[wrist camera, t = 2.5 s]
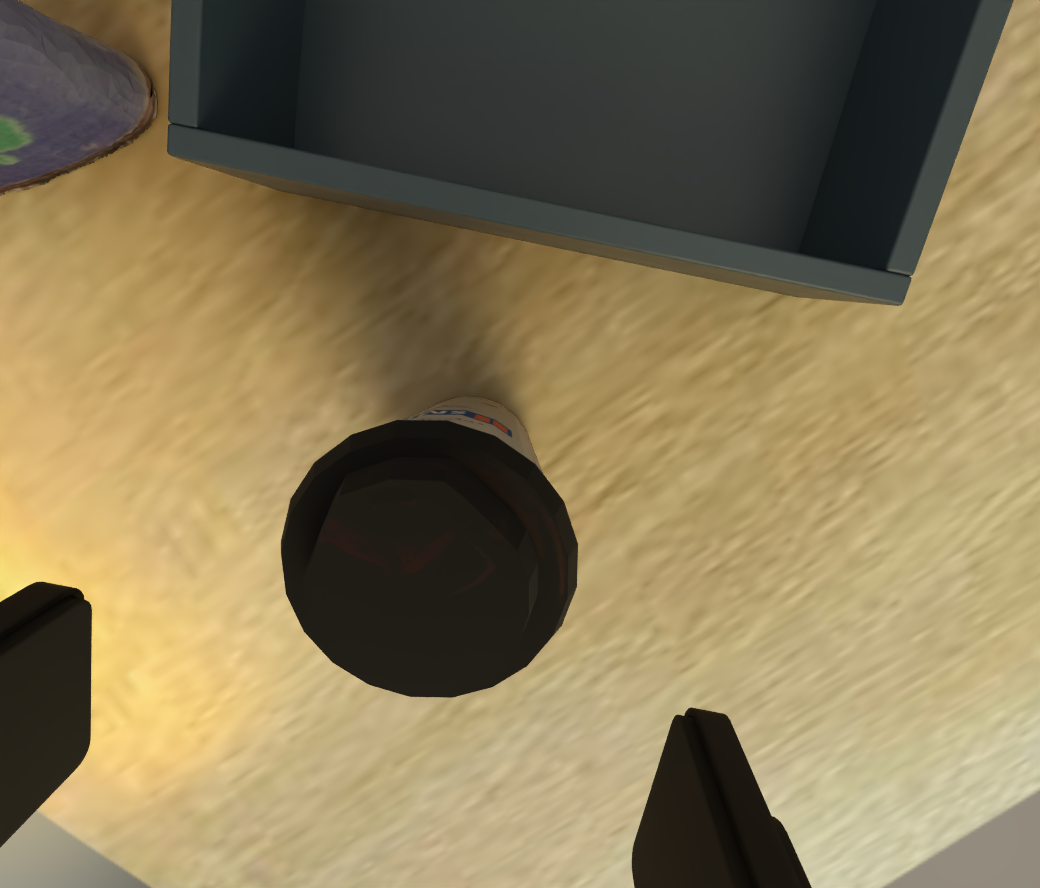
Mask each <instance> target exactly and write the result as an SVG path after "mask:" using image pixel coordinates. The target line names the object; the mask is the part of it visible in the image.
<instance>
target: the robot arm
mask: <svg viewBox="0 0 1040 888" xmlns="http://www.w3.org/2000/svg"><path fill="white" fill-rule="evenodd" d="M91 635H92V608H91V604H90V603H89V602H88V601H86V600H84V595H83V593H82V592H81V590H79V589H77V588H72V587H67V586H62V585H56V584H51V583H46V582H36V583H33V584H31V585H29V586H27V587H25V588H24V589H22V590H20V591H18V592H17V593H15V594H13V595H12V596H10V597H8V598H6V599H5V600H3V601H1V602H0V847H1V846H2V845H3V844H4V843H5V842H6V841H7V840H8V839H9V838H10V837H11V836H12V835H13V834H14V833H15V832H16V831H17V830H18V829H19V828H20V827H21V825H22V824H23V823H24V822H25V821H26V820H27V819H28V818H29V817H30V816H31V815H32V814H33V813H34V812H35V811H36V810H37V809H38V808H39V807H40V806H41V805H42V804H43V803H44V802H45V801H46V800H47V799H48V798H49V796H50V795H51V794H52V793H53V792H54V791H55V790H56V789H57V788H58V787H59V786H60V785H61V784H62V783H63V782H64V781H65V780H66V779H67V778H68V777H69V776H70V775H71V774H72V773H73V772H74V771H75V770H76V768H77V767H78V766H79V765H80V764H81V762H82V761H83V759H84V757H85V755H86V753H87V751H88V748H89V745H90V736H91ZM632 873H633V880H634V886H635V888H812V887H811V885H810V883H809V881H808V878H807V876H806V874H805V872H804V869H803V867H802V865H801V863H800V861H799V858H798V856H797V854H796V852H795V849H794V847H793V845H792V843H791V840H790V838H789V836H788V834H787V832H786V830H785V828H784V827H783V825H782V823H781V822H780V821H779V820H778V819H776V818H775V817H772V816H771V814H770V812H769V809H768V807H767V805H766V802H765V800H764V798H763V795H762V793H761V791H760V788H759V786H758V784H757V781H756V779H755V777H754V775H753V772H752V770H751V768H750V765H749V763H748V761H747V758H746V756H745V754H744V751H743V749H742V747H741V744H740V742H739V740H738V737H737V735H736V733H735V731H734V728H733V726H732V724H731V721H730V719H729V718H728V716H727V715H725V714H722V713H717V712H712V711H706V710H701V709H696V708H689V709H688V710H687V711H686V713H685V715H684V716H681V715H676V716H675V717H674V719H673V721H672V724H671V727H670V730H669V733H668V736H667V740H666V743H665V746H664V749H663V752H662V756H661V759H660V762H659V765H658V768H657V772H656V775H655V778H654V781H653V784H652V788H651V791H650V794H649V797H648V800H647V803H646V807H645V810H644V813H643V816H642V819H641V823H640V826H639V829H638V832H637V835H636V839H635V842H634V846H633V852H632Z"/></svg>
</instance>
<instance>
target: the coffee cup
mask: <svg viewBox="0 0 1040 888" xmlns="http://www.w3.org/2000/svg"><path fill="white" fill-rule="evenodd" d="M281 557H282V565H283V573H284V581H285V589H286V595H287V597H288V599H289V601H290V603H291V605H292V607H293V610H294V612H295V614H296V616H297V618H298V620H299V622H300V624H301V626H302V628H303V630H304V632H305V633H306V634H307V635H308V636H309V637H310V639H311V640H312V641H313V642H314V643H315V644H316V645H317V646H318V647H319V648H320V649H321V650H322V652H323V653H324V654H325V655H326V656H327V657H328V658H329V659H330V660H331V661H332V662H333V663H334V664H336V665H338V666H339V667H341V668H343V669H344V670H346V671H347V672H349V673H351V674H352V675H354V676H356V677H357V678H359V679H360V680H362V681H364V682H365V683H367V684H369V685H372V686H375V687H379V688H382V689H386V690H389V691H392V692H396V693H399V694H403V695H406V696H410V697H456V696H460V695H464V694H467V693H471V692H475V691H479V690H483V689H487V688H491V687H493V686H495V685H497V684H498V683H500V682H501V681H503V680H505V679H506V678H508V677H510V676H511V675H513V674H515V673H516V672H518V671H520V670H521V669H523V668H525V667H526V666H527V665H528V664H529V663H530V662H531V661H532V660H533V658H534V657H535V656H536V655H537V654H538V653H539V651H540V650H541V649H542V648H543V647H544V646H545V644H546V643H547V642H548V641H549V640H550V639H551V637H552V636H553V635H554V634H555V633H556V632H557V630H558V629H559V628H560V627H561V626H562V624H563V621H564V618H565V616H566V613H567V611H568V608H569V606H570V603H571V600H572V598H573V595H574V593H575V590H576V588H577V560H578V543H577V540H576V537H575V534H574V531H573V528H572V525H571V522H570V519H569V516H568V513H567V509H566V506H565V503H564V501H563V500H562V498H561V497H560V496H559V494H558V493H557V492H556V490H555V489H554V488H553V486H552V485H551V484H550V482H549V481H548V480H547V478H546V477H545V476H544V475H543V472H542V470H541V467H540V465H539V462H538V460H537V457H536V455H535V452H534V450H533V447H532V444H531V442H530V439H529V437H528V434H527V432H526V430H525V428H524V427H523V426H522V424H521V423H520V422H519V420H518V419H517V418H516V416H515V415H514V414H513V413H512V412H510V411H509V410H507V409H506V408H504V407H503V406H502V405H500V404H499V403H497V402H494V401H491V400H487V399H484V398H481V397H457V398H454V399H450V400H447V401H444V402H441V403H439V404H437V405H435V406H433V407H430V408H428V409H426V410H424V411H422V412H420V413H418V414H416V415H414V416H412V417H410V418H407V419H405V420H396V421H393V422H390V423H387V424H384V425H380V426H377V427H374V428H371V429H368V430H365V431H362V432H359V433H355V434H352V435H350V436H349V437H348V438H346V439H345V440H344V441H342V442H341V443H340V444H338V445H337V446H336V447H334V448H333V449H332V450H330V451H329V452H328V453H326V454H325V455H324V456H322V457H321V458H320V459H318V460H317V461H316V462H315V463H314V464H313V466H312V467H311V469H310V470H309V472H308V473H307V475H306V476H305V478H304V479H303V481H302V482H301V484H300V486H299V487H298V489H297V490H296V492H295V493H294V495H293V496H292V498H291V500H290V504H289V509H288V513H287V517H286V522H285V526H284V531H283V535H282V539H281Z"/></svg>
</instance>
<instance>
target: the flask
mask: <svg viewBox="0 0 1040 888" xmlns="http://www.w3.org/2000/svg"><path fill="white" fill-rule="evenodd" d="M150 91H151V79H150V78H149V77H148V76H147V74H146V72H145V71H144V69H143V67H142V66H141V65H139V64H138V63H137V62H136V61H135V60H133V59H132V58H131V57H129V56H128V55H127V54H125V53H123V52H120V51H118V50H116V49H114V48H112V47H110V46H108V45H106V44H104V43H102V42H100V41H98V40H96V39H94V38H92V37H90V36H87V35H85V34H83V33H81V32H79V31H77V30H75V29H73V28H71V27H69V26H66V25H64V24H62V23H60V22H58V21H56V20H54V19H52V18H50V17H47V16H45V15H43V14H41V13H40V12H38V11H36V10H34V9H33V8H31V7H29V6H27V5H25V4H23V3H21V2H19V1H18V0H0V195H5V193H4V192H19V191H20V190H26V189H30V188H31V187H33V186H35V185H42V184H45V183H48V182H49V181H50V179H53V178H55V177H56V176H60V175H61V174H65V173H69V172H71V171H73V170H76V169H77V168H78V167H82V166H85V165H87V164H88V163H89V164H91V163H94V160H96V159H97V158H98V159H99V158H100V157H102V158H103V157H104V156H106V157H107V156H108V155H107V154H112V153H113V152H114V151H115V150H117V149H118V148H122V147H125V146H127V145H129V144H130V143H133V140H134V139H137V137H138V136H139V135H140V134H141V133H143V132H144V131H145V129H148V128H147V127H150V126H151V125H152V124H150V123H151V121H152V120H154V119H155V118H156V108H157V103H158V102H157V96H156V92H155V90H154V87H153V86H152V91H153V93H152V97H151V99H150Z"/></svg>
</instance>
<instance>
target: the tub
mask: <svg viewBox="0 0 1040 888" xmlns="http://www.w3.org/2000/svg"><path fill="white" fill-rule="evenodd" d="M1012 3H1013V0H172V6H171V40H170V74H169V108H168V120H169V122H171V123H172V124H169V125H168V145H167V152H168V154H169V155H171V156H173V157H176V158H179V159H182V160H185V161H189V162H192V163H195V164H198V165H201V166H204V167H207V168H210V169H213V170H217V171H220V172H223V173H226V174H229V175H232V176H235V177H238V178H241V179H245V180H248V181H251V182H254V183H257V184H260V185H263V186H266V187H269V188H272V189H275V190H279V191H284V192H289V193H293V194H298V195H303V196H308V197H313V198H318V199H323V200H328V201H332V202H337V203H342V204H347V205H352V206H357V207H362V208H366V209H371V210H376V211H381V212H386V213H391V214H396V215H400V216H405V217H410V218H415V219H420V220H425V221H430V222H434V223H439V224H444V225H449V226H454V227H459V228H464V229H469V230H473V231H478V232H483V233H488V234H493V235H498V236H503V237H507V238H512V239H517V240H522V241H527V242H532V243H537V244H541V245H546V246H551V247H556V248H561V249H566V250H571V251H575V252H580V253H585V254H590V255H595V256H600V257H605V258H610V259H614V260H619V261H624V262H629V263H634V264H639V265H644V266H648V267H653V268H658V269H663V270H668V271H673V272H678V273H682V274H687V275H692V276H697V277H702V278H707V279H712V280H717V281H721V282H726V283H731V284H736V285H741V286H746V287H751V288H755V289H760V290H765V291H770V292H775V293H780V294H785V295H789V296H794V297H802V298H803V297H804V298H814V299H826V300H838V301H849V302H861V303H873V304H884V305H896V306H899V305H902V303H903V302H904V299H905V296H906V293H907V291H908V288H909V285H910V282H911V277H909V276H911V275H913V273H914V271H915V269H916V266H917V263H918V260H919V258H920V255H921V252H922V250H923V247H924V244H925V241H926V239H927V236H928V233H929V230H930V228H931V225H932V222H933V219H934V217H935V214H936V211H937V208H938V206H939V203H940V200H941V198H942V195H943V192H944V189H945V187H946V184H947V181H948V178H949V176H950V173H951V170H952V167H953V165H954V162H955V159H956V156H957V154H958V151H959V148H960V145H961V143H962V140H963V137H964V135H965V132H966V129H967V126H968V124H969V121H970V118H971V115H972V113H973V110H974V107H975V104H976V102H977V99H978V96H979V93H980V91H981V88H982V85H983V83H984V80H985V77H986V74H987V72H988V69H989V66H990V63H991V61H992V58H993V55H994V52H995V50H996V47H997V44H998V41H999V39H1000V36H1001V33H1002V31H1003V28H1004V25H1005V22H1006V20H1007V17H1008V14H1009V11H1010V9H1011V6H1012Z"/></svg>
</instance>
